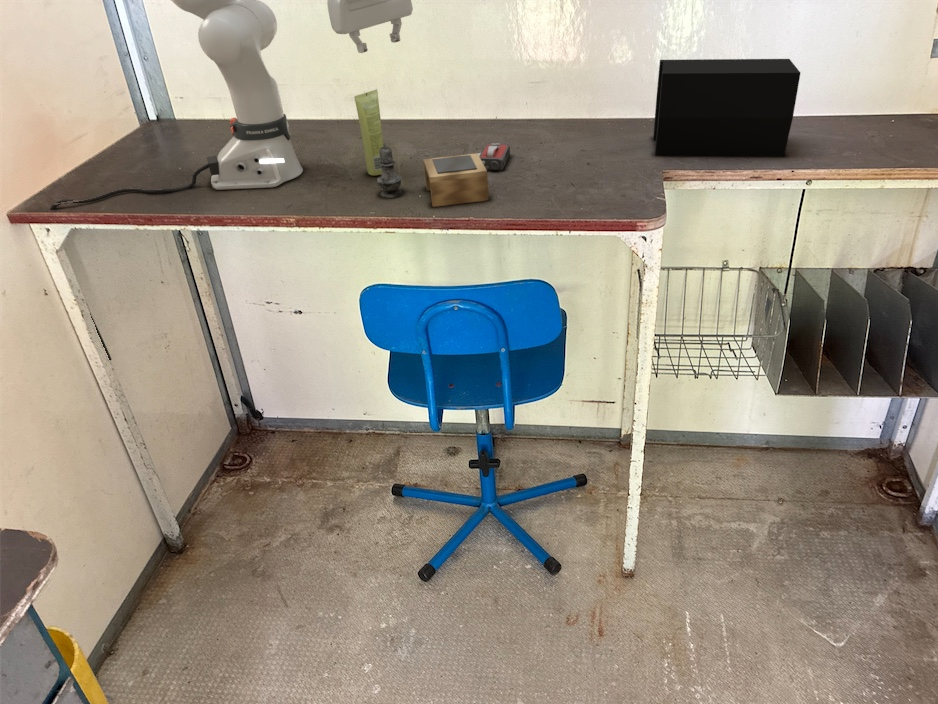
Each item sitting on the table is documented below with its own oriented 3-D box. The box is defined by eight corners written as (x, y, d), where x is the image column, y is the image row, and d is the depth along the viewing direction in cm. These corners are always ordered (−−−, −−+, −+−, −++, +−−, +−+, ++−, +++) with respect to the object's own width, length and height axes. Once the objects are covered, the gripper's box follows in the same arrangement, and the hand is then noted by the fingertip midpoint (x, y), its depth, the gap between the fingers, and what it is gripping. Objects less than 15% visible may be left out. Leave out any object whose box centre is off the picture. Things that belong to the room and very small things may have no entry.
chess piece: (399, 198, 166) (392, 147, 159) (375, 197, 167) (367, 146, 160) (407, 189, 171) (400, 139, 163) (383, 188, 172) (376, 138, 164)
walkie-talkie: (479, 153, 189) (462, 181, 173) (478, 136, 186) (461, 163, 171) (511, 153, 188) (497, 182, 172) (511, 137, 185) (496, 164, 169)
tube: (368, 169, 182) (355, 89, 171) (388, 167, 183) (377, 88, 171) (367, 177, 178) (354, 96, 166) (387, 175, 178) (375, 94, 166)
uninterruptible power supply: (653, 136, 195) (659, 58, 183) (779, 137, 191) (795, 57, 179) (655, 157, 182) (662, 74, 170) (791, 158, 178) (808, 74, 166)
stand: (432, 207, 161) (429, 175, 157) (426, 187, 171) (422, 157, 166) (488, 200, 163) (486, 169, 159) (479, 181, 173) (477, 151, 168)
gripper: (393, -33, 157) (406, 35, 166) (317, -15, 147) (335, 57, 155) (411, -33, 154) (423, 36, 162) (335, -14, 143) (352, 59, 151)
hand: (379, 46), depth 158 cm, fingers open, 8 cm apart
